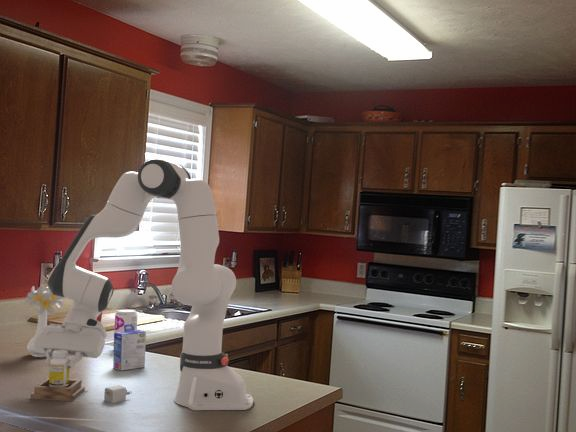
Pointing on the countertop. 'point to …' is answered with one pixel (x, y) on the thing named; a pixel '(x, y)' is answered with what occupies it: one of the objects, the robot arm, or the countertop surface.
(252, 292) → the countertop surface
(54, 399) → the mat
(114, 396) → the usb wall charger
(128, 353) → the ink cartridge box
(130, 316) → the supplement can
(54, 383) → the supplement bottle
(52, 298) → the flower vase
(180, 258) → the robot arm
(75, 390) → the wooden tray
